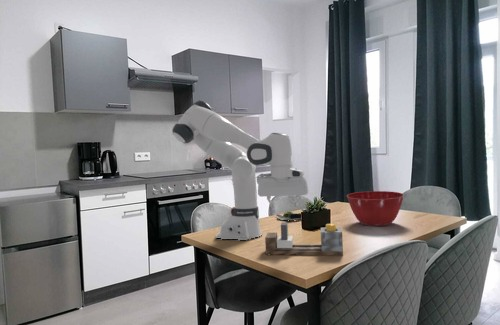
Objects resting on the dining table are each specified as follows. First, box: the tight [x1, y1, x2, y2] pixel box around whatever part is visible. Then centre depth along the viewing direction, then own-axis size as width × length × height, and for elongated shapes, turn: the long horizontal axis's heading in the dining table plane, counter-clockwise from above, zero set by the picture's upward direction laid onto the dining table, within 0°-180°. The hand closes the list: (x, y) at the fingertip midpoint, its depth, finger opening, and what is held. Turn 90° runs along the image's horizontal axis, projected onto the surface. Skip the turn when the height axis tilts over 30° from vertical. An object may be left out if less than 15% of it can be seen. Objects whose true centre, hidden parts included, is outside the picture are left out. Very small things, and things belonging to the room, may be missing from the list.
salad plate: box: [276, 211, 302, 222], centre depth 212 cm, size 19×18×5 cm
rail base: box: [264, 226, 344, 256], centre depth 144 cm, size 30×8×9 cm, turn 80°
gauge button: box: [325, 223, 337, 231], centre depth 142 cm, size 4×4×4 cm
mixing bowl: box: [346, 190, 405, 227], centre depth 188 cm, size 28×28×16 cm
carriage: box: [277, 221, 294, 248], centre depth 146 cm, size 6×7×9 cm
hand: (283, 206), depth 145 cm, fingers open, 8 cm apart
